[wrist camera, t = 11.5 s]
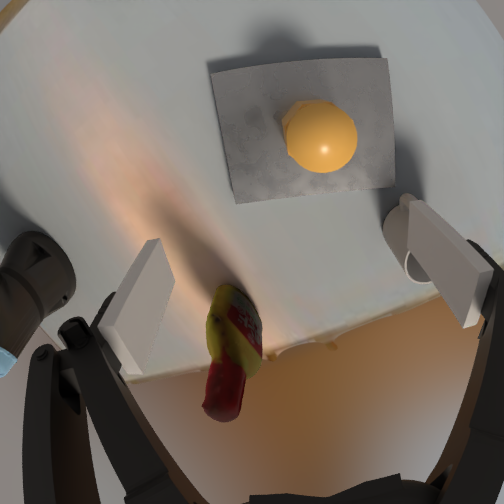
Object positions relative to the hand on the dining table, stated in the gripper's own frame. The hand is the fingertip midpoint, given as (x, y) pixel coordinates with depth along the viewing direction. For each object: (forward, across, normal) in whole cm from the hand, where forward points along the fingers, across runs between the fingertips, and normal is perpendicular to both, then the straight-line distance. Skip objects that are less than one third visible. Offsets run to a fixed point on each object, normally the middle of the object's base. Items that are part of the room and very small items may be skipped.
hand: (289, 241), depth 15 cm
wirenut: (+21, +5, +2) cm, 22 cm away
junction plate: (+23, +5, +2) cm, 23 cm away
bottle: (+23, -9, -23) cm, 34 cm away
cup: (+23, +17, -11) cm, 30 cm away
